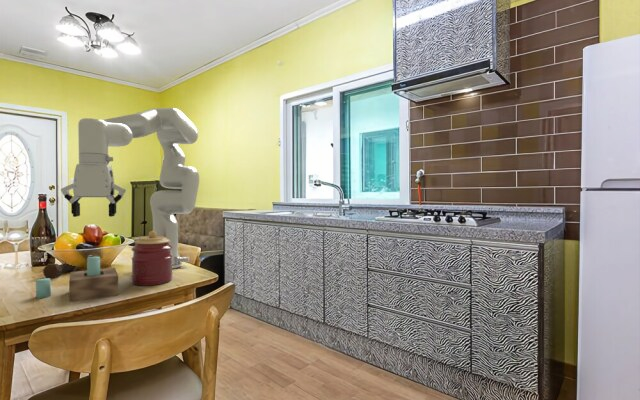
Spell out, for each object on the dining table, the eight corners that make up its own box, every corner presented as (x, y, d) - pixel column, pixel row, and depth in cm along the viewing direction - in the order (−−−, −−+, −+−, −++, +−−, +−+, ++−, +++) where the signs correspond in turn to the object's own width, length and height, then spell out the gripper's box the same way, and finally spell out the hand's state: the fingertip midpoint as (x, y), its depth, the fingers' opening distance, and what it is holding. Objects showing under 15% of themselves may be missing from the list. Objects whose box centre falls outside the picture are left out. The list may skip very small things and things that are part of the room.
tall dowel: (101, 291, 109) (102, 256, 109) (97, 294, 106) (97, 258, 106) (89, 291, 109) (89, 256, 108) (85, 295, 105) (85, 258, 105)
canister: (178, 276, 129) (178, 229, 128) (161, 286, 116) (162, 233, 115) (143, 276, 129) (144, 228, 129) (123, 285, 116) (123, 232, 116)
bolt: (80, 273, 139) (52, 282, 124) (69, 267, 139) (39, 275, 124) (87, 261, 139) (60, 268, 124) (76, 254, 139) (48, 261, 124)
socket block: (114, 285, 116) (114, 267, 116) (118, 295, 106) (118, 275, 106) (70, 291, 109) (70, 272, 109) (69, 301, 99) (69, 280, 99)
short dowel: (52, 294, 106) (52, 278, 105) (46, 297, 102) (46, 280, 102) (39, 295, 105) (39, 278, 105) (33, 298, 101) (33, 281, 101)
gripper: (128, 161, 112) (129, 215, 113) (67, 160, 108) (68, 215, 109) (121, 160, 105) (121, 217, 105) (54, 158, 101) (55, 217, 101)
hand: (94, 216), depth 107 cm, fingers open, 9 cm apart
